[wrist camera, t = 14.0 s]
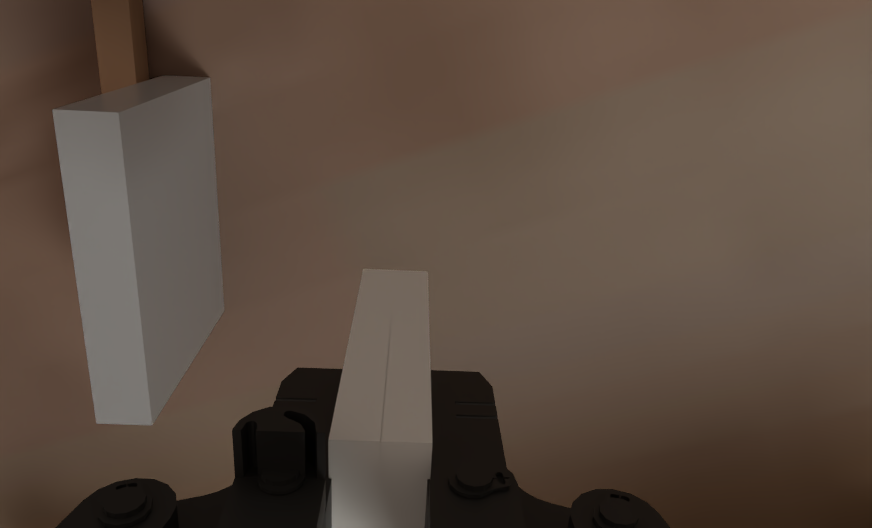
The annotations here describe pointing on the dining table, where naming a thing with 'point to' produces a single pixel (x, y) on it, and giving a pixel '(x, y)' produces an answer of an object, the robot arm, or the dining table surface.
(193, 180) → the tile
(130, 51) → the stop rail
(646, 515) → the robot arm
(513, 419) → the dining table surface
